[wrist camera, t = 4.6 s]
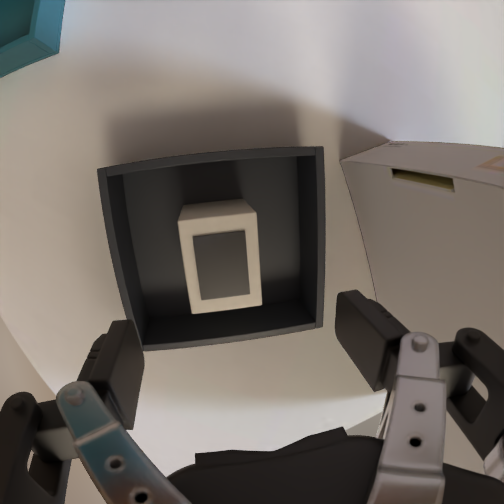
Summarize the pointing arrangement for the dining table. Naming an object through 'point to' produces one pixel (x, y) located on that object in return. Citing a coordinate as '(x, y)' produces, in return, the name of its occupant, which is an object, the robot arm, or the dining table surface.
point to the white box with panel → (220, 255)
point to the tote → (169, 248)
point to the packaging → (435, 244)
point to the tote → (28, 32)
